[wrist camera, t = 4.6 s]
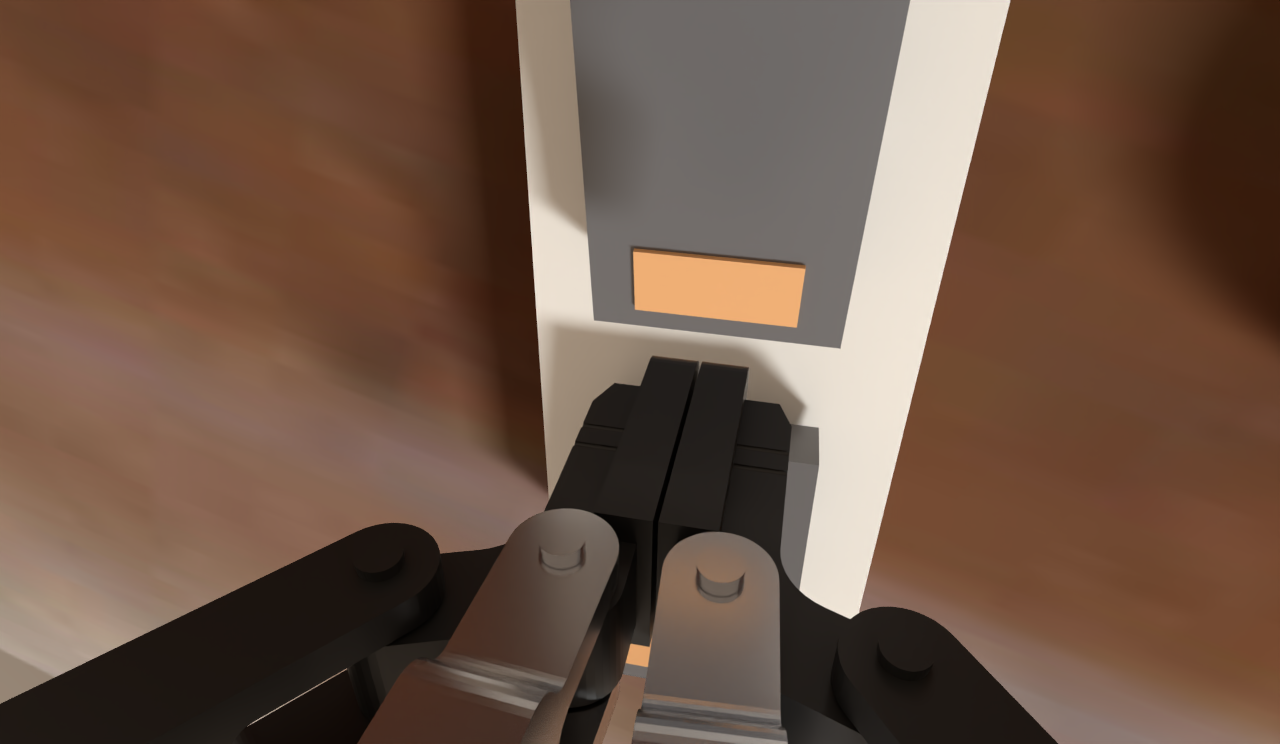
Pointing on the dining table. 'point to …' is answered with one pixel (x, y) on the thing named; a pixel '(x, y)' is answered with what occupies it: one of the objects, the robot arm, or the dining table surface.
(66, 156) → the dining table surface
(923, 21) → the power strip
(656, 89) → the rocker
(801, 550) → the block
